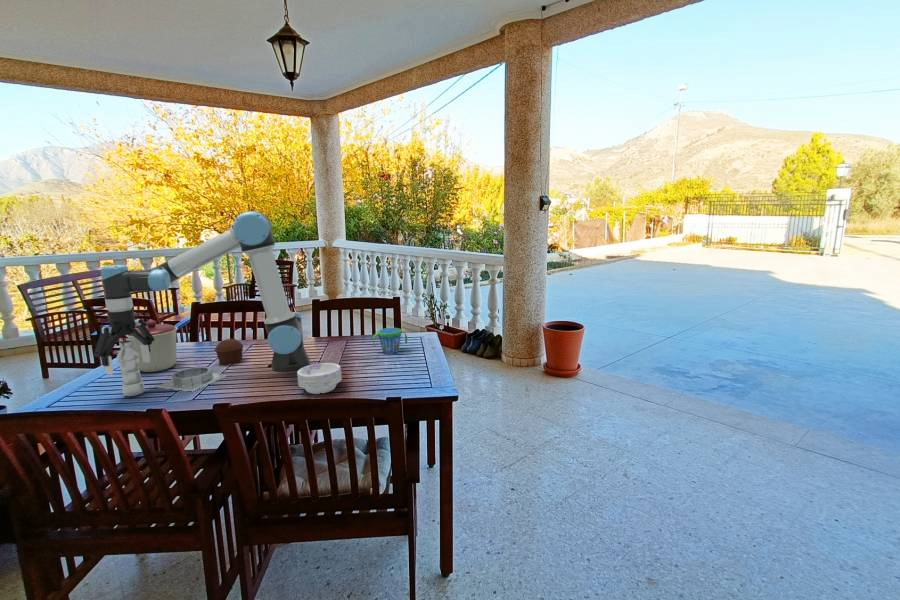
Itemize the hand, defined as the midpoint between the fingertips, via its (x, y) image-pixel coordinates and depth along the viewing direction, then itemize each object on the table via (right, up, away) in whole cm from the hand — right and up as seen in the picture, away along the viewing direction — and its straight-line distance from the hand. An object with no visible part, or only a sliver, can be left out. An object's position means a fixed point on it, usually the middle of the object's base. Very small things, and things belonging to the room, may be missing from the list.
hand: (129, 367), depth 158 cm
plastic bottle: (+1, -10, +2) cm, 11 cm away
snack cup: (+87, 0, +45) cm, 98 cm away
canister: (-10, -5, +31) cm, 33 cm away
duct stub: (+15, -8, +13) cm, 21 cm away
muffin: (+18, -3, +37) cm, 41 cm away
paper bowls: (+68, -8, +3) cm, 68 cm away
